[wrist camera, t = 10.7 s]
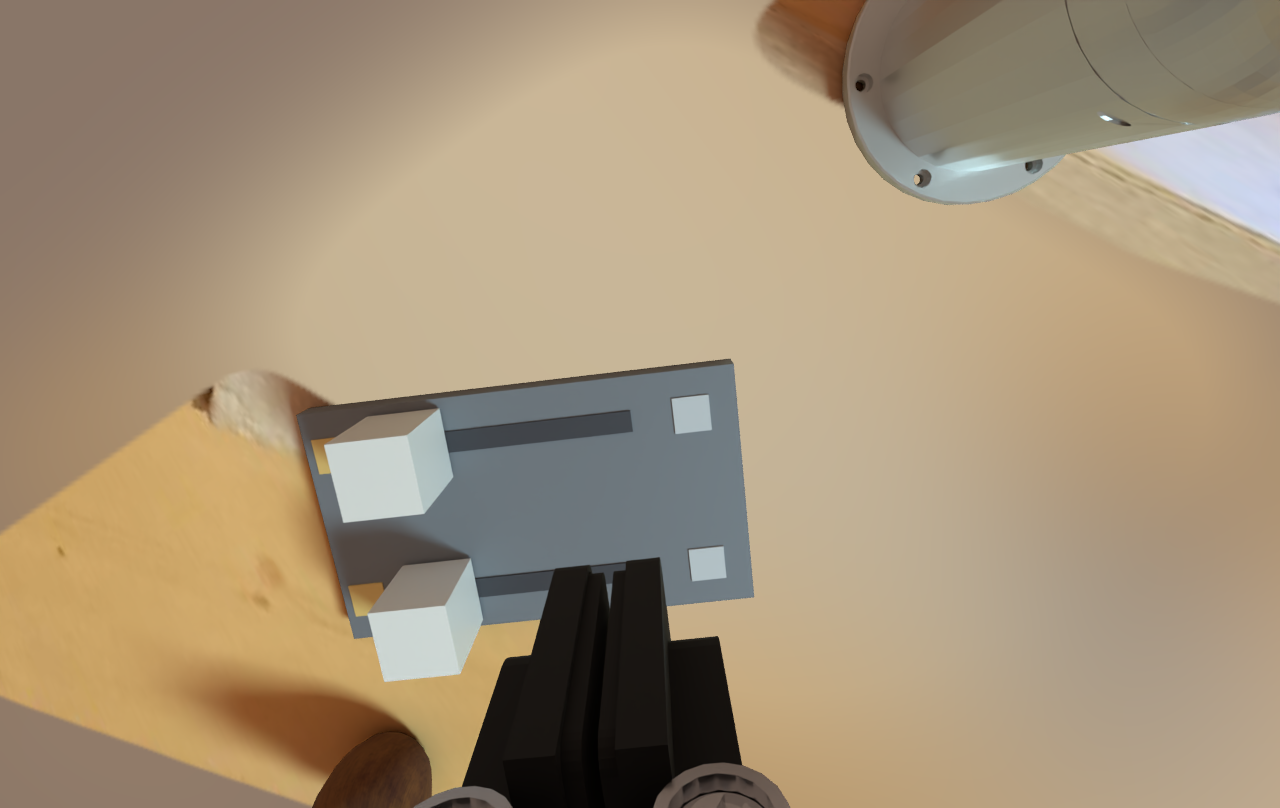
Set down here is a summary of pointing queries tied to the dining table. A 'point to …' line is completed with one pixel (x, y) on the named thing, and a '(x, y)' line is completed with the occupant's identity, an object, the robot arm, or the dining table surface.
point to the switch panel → (560, 489)
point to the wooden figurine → (379, 775)
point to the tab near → (390, 465)
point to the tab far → (426, 620)
